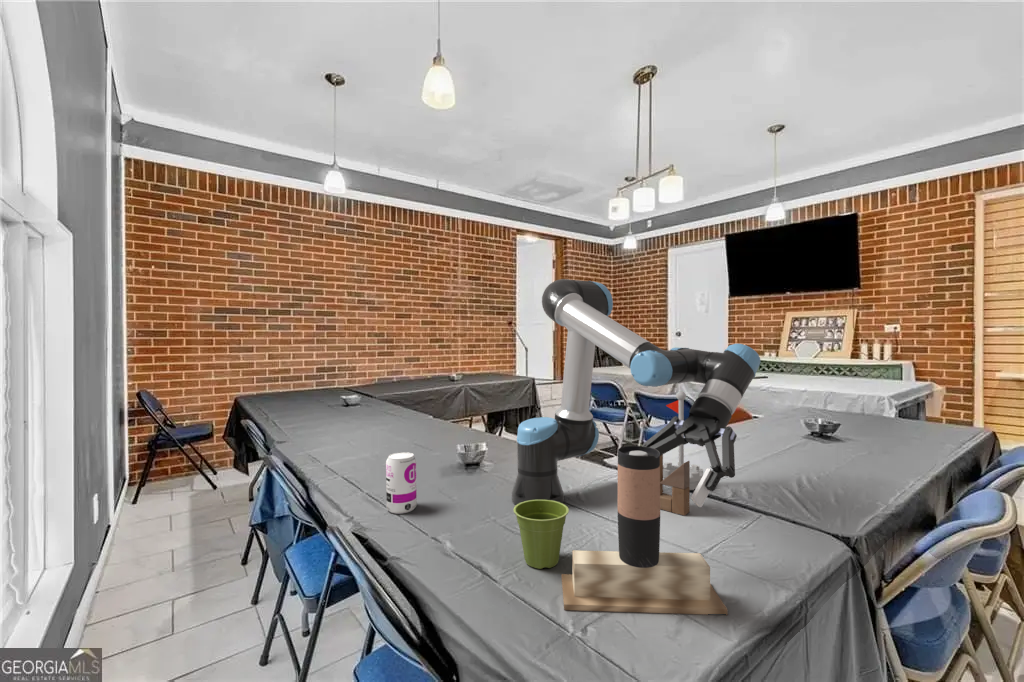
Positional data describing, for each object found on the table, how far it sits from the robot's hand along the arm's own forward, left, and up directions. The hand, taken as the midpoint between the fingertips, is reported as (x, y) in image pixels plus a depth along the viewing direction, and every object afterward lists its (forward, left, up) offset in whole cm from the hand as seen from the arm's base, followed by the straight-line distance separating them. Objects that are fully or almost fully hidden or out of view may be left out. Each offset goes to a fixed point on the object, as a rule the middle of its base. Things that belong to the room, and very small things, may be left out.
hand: (665, 491), depth 87 cm
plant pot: (-24, +8, -18) cm, 31 cm away
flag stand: (+21, +59, -18) cm, 65 cm away
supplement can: (-63, +35, -18) cm, 74 cm away
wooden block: (+11, +38, -18) cm, 44 cm away
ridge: (-6, -4, -18) cm, 19 cm away
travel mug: (-6, -4, -11) cm, 13 cm away
